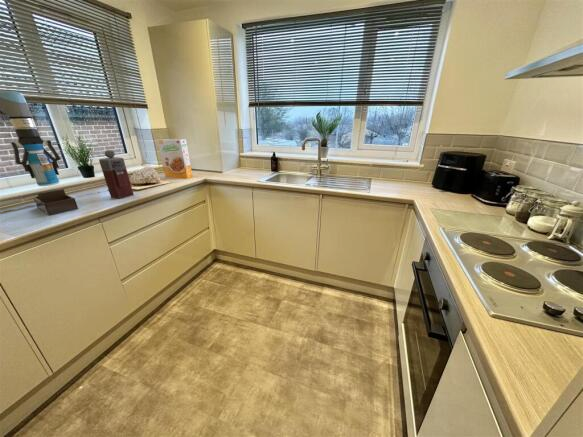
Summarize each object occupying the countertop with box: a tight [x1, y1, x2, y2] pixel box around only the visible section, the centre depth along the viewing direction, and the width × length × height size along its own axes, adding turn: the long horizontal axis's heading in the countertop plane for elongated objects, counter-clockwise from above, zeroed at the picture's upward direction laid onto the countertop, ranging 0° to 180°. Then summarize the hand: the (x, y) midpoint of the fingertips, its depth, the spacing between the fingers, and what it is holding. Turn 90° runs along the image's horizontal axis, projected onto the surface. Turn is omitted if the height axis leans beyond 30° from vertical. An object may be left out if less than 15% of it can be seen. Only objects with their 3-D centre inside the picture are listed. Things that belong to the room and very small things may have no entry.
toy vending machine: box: [98, 149, 135, 200], centre depth 144 cm, size 9×11×28 cm
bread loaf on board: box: [129, 166, 172, 190], centre depth 175 cm, size 28×22×16 cm
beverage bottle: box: [22, 144, 60, 187], centre depth 119 cm, size 8×8×20 cm
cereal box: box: [157, 138, 193, 180], centre depth 194 cm, size 22×6×30 cm, turn 72°
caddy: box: [32, 188, 79, 216], centre depth 129 cm, size 23×12×10 cm, turn 55°
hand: (45, 176), depth 121 cm, fingers closed on beverage bottle, 8 cm apart
